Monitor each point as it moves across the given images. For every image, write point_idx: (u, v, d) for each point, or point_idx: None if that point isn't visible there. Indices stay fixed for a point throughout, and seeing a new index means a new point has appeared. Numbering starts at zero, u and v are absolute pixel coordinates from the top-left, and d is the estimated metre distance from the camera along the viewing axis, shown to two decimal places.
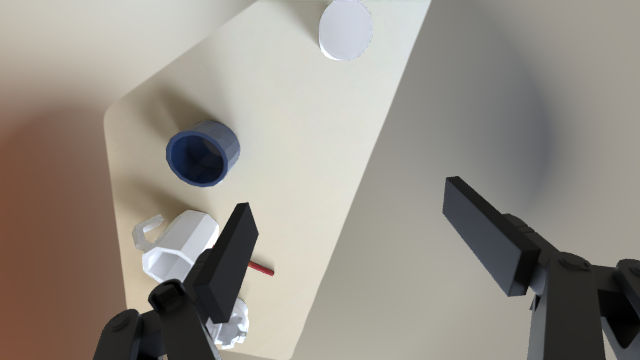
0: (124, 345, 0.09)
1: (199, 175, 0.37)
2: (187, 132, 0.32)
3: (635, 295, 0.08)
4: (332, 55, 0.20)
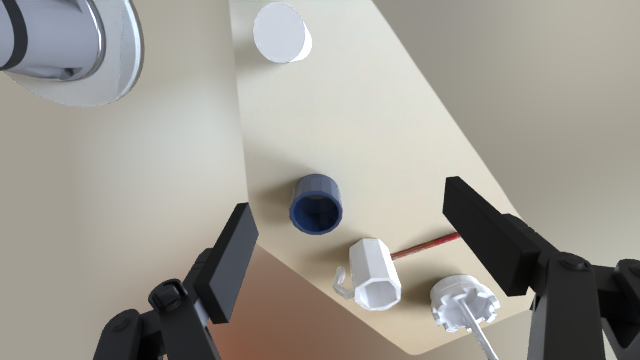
0: (124, 345, 0.09)
1: (328, 220, 0.42)
2: (292, 204, 0.38)
3: (635, 295, 0.08)
4: (292, 58, 0.21)
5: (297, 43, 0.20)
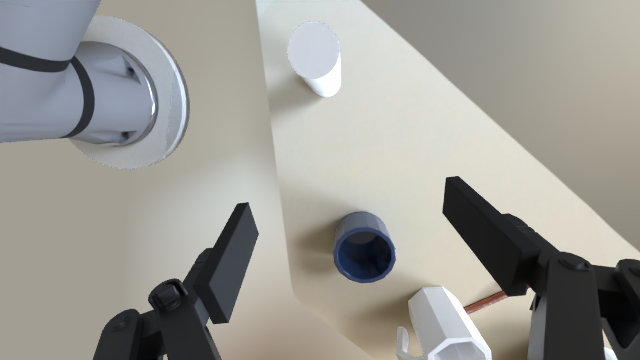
0: (124, 345, 0.09)
1: (379, 265, 0.36)
2: (336, 246, 0.33)
3: (635, 295, 0.08)
4: (327, 72, 0.20)
5: (331, 56, 0.20)
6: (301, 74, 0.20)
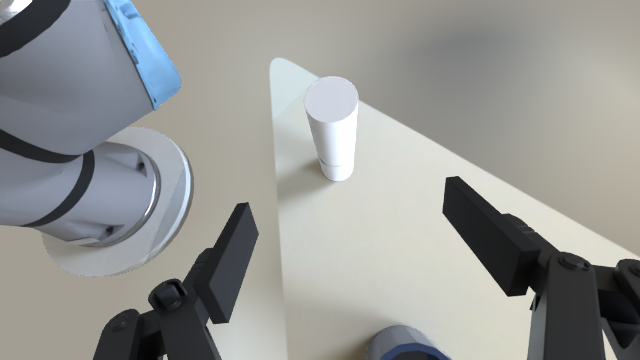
0: (124, 345, 0.09)
1: None
2: None
3: (635, 295, 0.08)
4: (347, 115, 0.19)
5: (350, 102, 0.19)
6: (319, 119, 0.19)
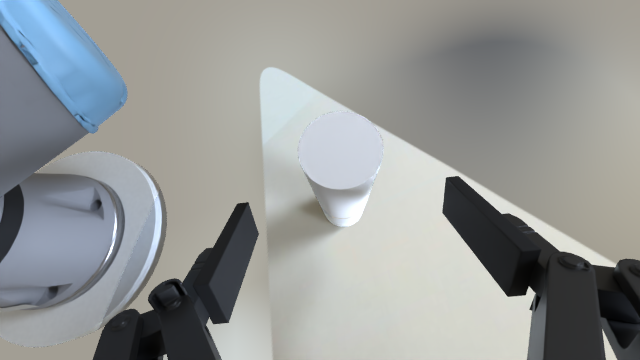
0: (124, 345, 0.09)
1: None
2: None
3: (635, 295, 0.08)
4: (367, 177, 0.12)
5: (371, 154, 0.12)
6: (321, 183, 0.12)
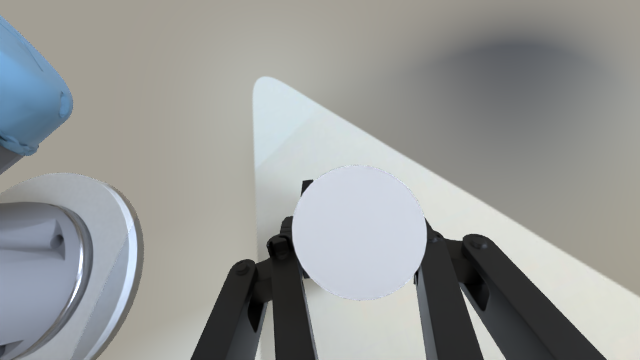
0: (242, 290, 0.10)
1: None
2: None
3: (479, 266, 0.10)
4: (402, 281, 0.07)
5: (407, 240, 0.08)
6: (328, 287, 0.07)
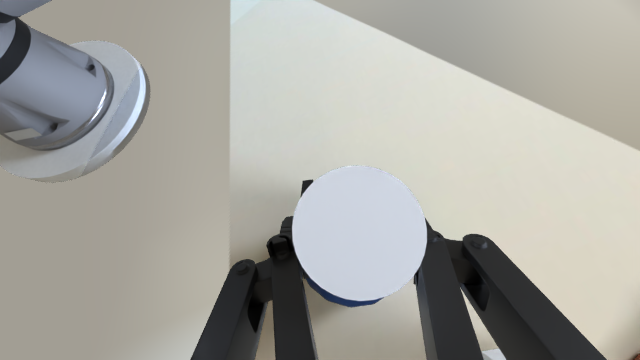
0: (242, 290, 0.10)
1: None
2: None
3: (479, 266, 0.10)
4: (402, 281, 0.07)
5: (408, 241, 0.08)
6: (329, 287, 0.07)
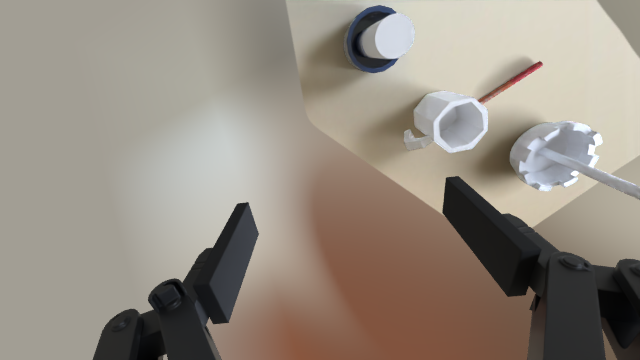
0: (124, 345, 0.09)
1: (388, 59, 0.38)
2: (349, 33, 0.35)
3: (635, 295, 0.08)
4: (404, 52, 0.27)
5: (408, 40, 0.27)
6: (384, 55, 0.27)
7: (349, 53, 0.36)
